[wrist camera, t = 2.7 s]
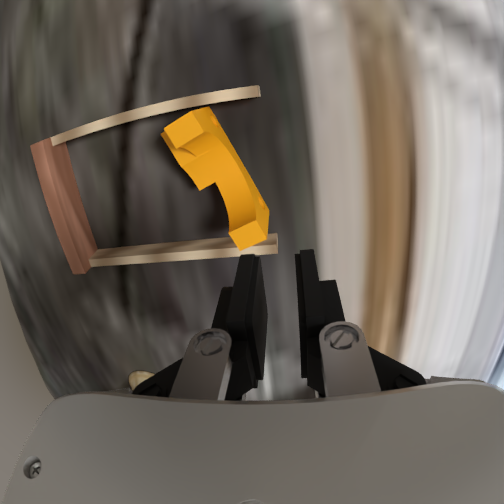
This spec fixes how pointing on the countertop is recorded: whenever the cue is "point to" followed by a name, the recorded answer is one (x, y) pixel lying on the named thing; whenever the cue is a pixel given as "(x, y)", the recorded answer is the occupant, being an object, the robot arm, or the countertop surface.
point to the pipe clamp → (219, 173)
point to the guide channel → (73, 214)
